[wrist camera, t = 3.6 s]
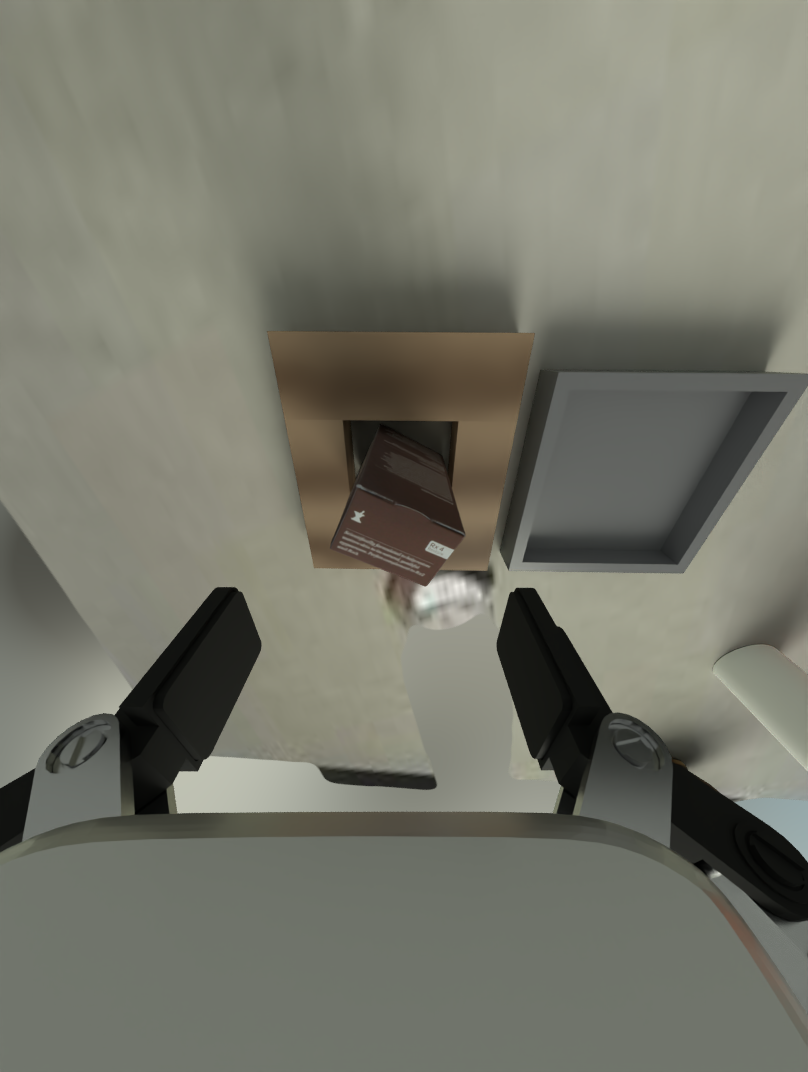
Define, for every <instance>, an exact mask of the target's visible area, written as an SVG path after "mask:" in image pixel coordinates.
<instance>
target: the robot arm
mask: <svg viewBox="0 0 808 1072" xmlns="http://www.w3.org/2000/svg"><path fill="white" fill-rule="evenodd" d="M260 651H261V640H260V638H259V635H258V632H257V630H256V627H255V624H254V622H253V619H252V617H251V614H250V611H249V609H248V606H247V603H246V601H245V598H244V596H243V593H242V592H239V591H238V589H237V588H235V587H217V588H215V589H214V590H213V591H212V592H211V594H210V595H209V596H208V597H207V599H206V600H205V601H204V602H203V604H202V605H201V606H200V607H199V609H198V610H197V611H196V612H195V613H194V615H193V616H192V617H191V618H190V620H189V621H188V622H187V623H186V625H185V626H184V627H183V628H182V630H181V631H180V632H179V633H178V634H177V636H176V637H175V638H174V639H173V641H172V642H171V643H170V644H169V646H168V647H167V648H166V649H165V651H164V652H163V653H162V654H161V655H160V657H159V658H158V659H157V660H156V662H155V663H154V664H153V665H152V667H151V668H150V669H149V670H148V672H147V673H146V674H145V675H144V676H143V678H142V679H141V680H140V681H139V683H138V684H137V685H136V686H135V688H134V689H133V690H132V691H131V693H130V694H129V695H128V697H127V698H126V699H125V700H124V701H123V702H122V704H121V705H120V706H119V708H120V709H119V710H118V711H117V713H116V714H115V715H113V714H106V713H103V714H99V715H93V716H91V717H89V718H86V719H84V720H81V721H80V722H78V723H76V724H75V725H73V726H71V727H70V728H68V729H67V730H66V731H65V732H63V733H62V734H60V735H59V736H58V737H57V738H56V739H55V740H54V741H53V742H52V743H51V744H50V745H49V746H48V747H47V748H46V750H45V751H44V753H43V754H42V755H41V757H40V758H39V761H38V763H37V766H36V768H35V769H33V770H31V771H30V772H28V773H26V774H25V775H23V776H21V777H19V778H18V779H16V780H14V781H12V782H11V783H9V784H7V785H6V786H4V787H2V788H0V1072H808V862H807V861H806V860H805V858H804V857H803V856H802V855H801V854H800V852H799V851H798V850H797V849H796V848H795V847H794V846H793V845H792V844H791V843H790V842H789V841H788V840H787V839H786V838H785V837H783V836H782V835H781V834H779V833H778V832H777V831H776V830H774V829H773V828H771V827H770V826H769V825H767V824H766V823H764V822H763V821H761V820H760V819H758V818H757V817H755V816H754V815H752V814H751V813H749V812H748V811H746V810H745V809H743V808H742V807H740V806H739V805H737V804H736V803H734V802H733V801H731V800H730V799H728V798H727V797H725V796H724V795H722V794H721V793H719V792H718V791H716V790H715V789H713V788H712V787H710V786H709V785H707V784H706V783H704V782H703V781H701V780H700V779H698V778H697V777H695V776H694V775H692V774H691V773H689V772H688V771H686V770H685V769H683V768H682V767H680V766H678V765H677V764H675V763H674V762H672V758H671V755H670V753H669V751H668V749H667V747H666V745H665V744H664V742H663V741H662V740H661V738H660V737H659V736H658V735H657V734H656V733H655V732H654V731H653V730H652V729H651V728H650V727H649V726H647V725H646V724H644V723H643V722H642V721H640V720H639V719H637V718H634V717H632V716H630V715H628V714H623V713H612V711H611V709H610V707H609V706H608V704H607V702H606V701H605V699H604V697H603V696H602V694H601V692H600V691H599V689H598V687H597V685H596V684H595V682H594V680H593V679H592V677H591V675H590V674H589V672H588V670H587V669H586V667H585V665H584V663H583V662H582V660H581V658H580V657H579V655H578V653H577V652H576V650H575V648H574V647H573V645H572V643H571V641H570V640H569V638H568V636H567V635H566V633H565V632H564V630H563V629H562V628H560V627H557V626H556V624H555V623H554V621H553V619H552V617H551V616H550V614H549V612H548V610H547V609H546V607H545V605H544V603H543V602H542V600H541V598H540V597H539V595H538V593H537V591H536V590H535V589H534V588H516V589H515V591H514V592H511V593H510V594H509V598H508V602H507V605H506V609H505V613H504V617H503V621H502V624H501V628H500V632H499V636H498V639H497V652H498V655H499V658H500V661H501V665H502V668H503V670H504V674H505V677H506V680H507V683H508V686H509V689H510V692H511V696H512V699H513V702H514V705H515V708H516V711H517V714H518V717H519V720H520V724H521V727H522V730H523V733H524V736H525V739H526V742H527V745H528V748H529V751H530V754H531V756H532V757H533V758H534V759H538V762H539V765H540V768H541V770H554V772H555V775H556V777H557V780H558V783H559V784H560V785H561V787H560V790H559V794H558V797H557V800H556V803H555V807H554V810H553V813H514V812H268V813H267V812H266V813H265V812H264V813H182V814H177V807H176V801H175V794H174V786H173V782H174V780H175V778H176V776H177V774H178V772H179V771H198V770H199V768H200V766H201V764H202V762H203V760H204V759H207V758H208V757H209V756H210V754H211V753H212V751H213V749H214V747H215V745H216V743H217V740H218V738H219V736H220V734H221V732H222V730H223V728H224V726H225V724H226V722H227V720H228V718H229V716H230V713H231V711H232V709H233V707H234V705H235V703H236V701H237V699H238V697H239V695H240V693H241V691H242V689H243V687H244V684H245V682H246V680H247V678H248V676H249V674H250V672H251V670H252V668H253V666H254V664H255V662H256V660H257V657H258V655H259V653H260Z"/></svg>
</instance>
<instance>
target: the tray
mask: <svg viewBox="0 0 808 1072" xmlns="http://www.w3.org/2000/svg"><path fill="white" fill-rule="evenodd" d="M807 386H808V374H801V373H780V372H732V371H616V370H540V375H539V379H538V384H537V388H536V393H535V397H534V402H533V406H532V411H531V415H530V420H529V424H528V429H527V433H526V438H525V442H524V447H523V451H522V456H521V460H520V465H519V469H518V474H517V478H516V483H515V487H514V492H513V496H512V501H511V505H510V510H509V514H508V519H507V523H506V528H505V532H504V537H503V541H502V546H501V550H500V553H501V555H502V557H503V560H504V562H505V564H506V566H507V568H508V570H509V571H551V572H620V573H684V572H685V570H686V569H687V567H688V566H689V564H690V563H691V561H692V560H693V558H694V557H695V555H696V554H697V552H698V551H699V549H700V548H701V546H702V545H703V543H704V542H705V540H706V539H707V537H708V536H709V534H710V533H711V531H712V530H713V528H714V527H715V525H716V524H717V522H718V521H719V519H720V518H721V516H722V515H723V513H724V512H725V510H726V509H727V507H728V505H729V504H730V502H731V501H732V499H733V498H734V496H735V495H736V493H737V492H738V490H739V489H740V487H741V486H742V484H743V483H744V481H745V480H746V478H747V477H748V475H749V474H750V472H751V471H752V469H753V468H754V466H755V465H756V463H757V462H758V460H759V459H760V457H761V456H762V454H763V453H764V451H765V450H766V448H767V447H768V445H769V444H770V442H771V441H772V439H773V438H774V436H775V435H776V433H777V432H778V430H779V428H780V427H781V425H782V424H783V422H784V421H785V419H786V418H787V416H788V415H789V413H790V412H791V410H792V409H793V407H794V406H795V404H796V403H797V401H798V400H799V398H800V397H801V395H802V394H803V392H804V391H805V389H806V388H807Z"/></svg>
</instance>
